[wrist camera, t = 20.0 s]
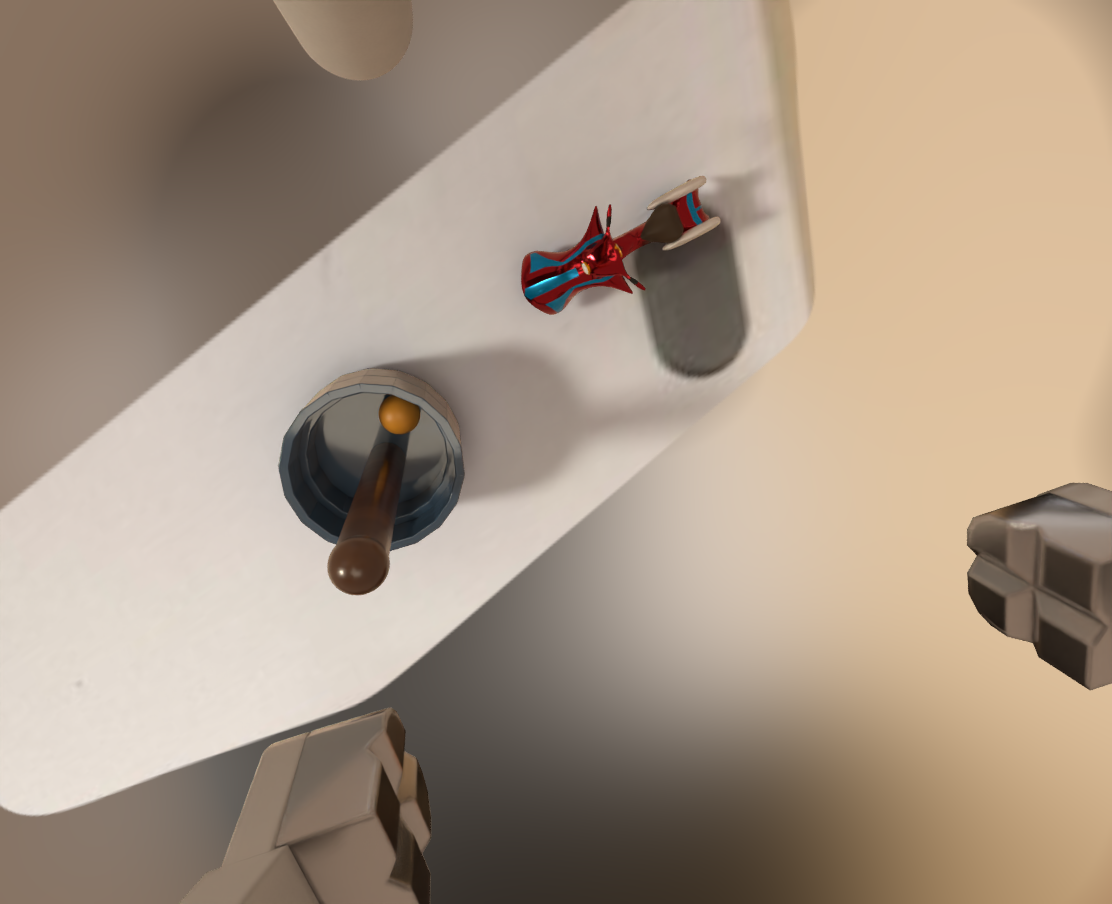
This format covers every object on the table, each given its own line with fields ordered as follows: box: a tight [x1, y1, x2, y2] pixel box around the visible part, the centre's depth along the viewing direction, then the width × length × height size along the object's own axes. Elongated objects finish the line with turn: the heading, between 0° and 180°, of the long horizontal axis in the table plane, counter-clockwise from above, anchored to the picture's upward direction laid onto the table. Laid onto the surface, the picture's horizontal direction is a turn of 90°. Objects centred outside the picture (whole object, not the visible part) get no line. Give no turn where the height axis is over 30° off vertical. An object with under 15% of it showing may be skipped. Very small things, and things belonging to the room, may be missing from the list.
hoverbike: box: [521, 176, 721, 315], centre depth 34 cm, size 5×12×6 cm, turn 116°
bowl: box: [278, 368, 465, 551], centre depth 35 cm, size 10×10×6 cm
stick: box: [327, 443, 405, 595], centre depth 30 cm, size 2×2×15 cm
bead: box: [379, 395, 420, 434], centre depth 36 cm, size 2×2×2 cm
